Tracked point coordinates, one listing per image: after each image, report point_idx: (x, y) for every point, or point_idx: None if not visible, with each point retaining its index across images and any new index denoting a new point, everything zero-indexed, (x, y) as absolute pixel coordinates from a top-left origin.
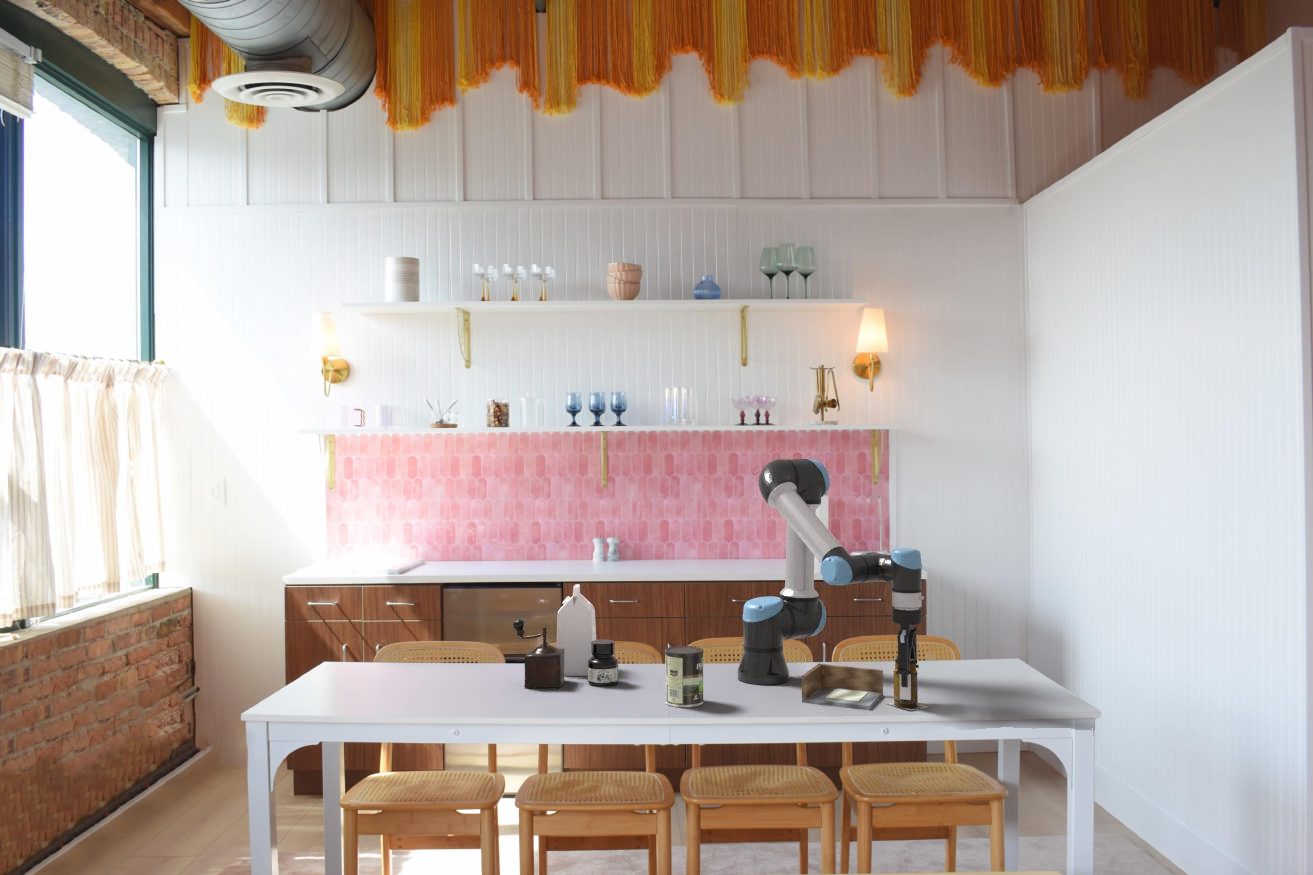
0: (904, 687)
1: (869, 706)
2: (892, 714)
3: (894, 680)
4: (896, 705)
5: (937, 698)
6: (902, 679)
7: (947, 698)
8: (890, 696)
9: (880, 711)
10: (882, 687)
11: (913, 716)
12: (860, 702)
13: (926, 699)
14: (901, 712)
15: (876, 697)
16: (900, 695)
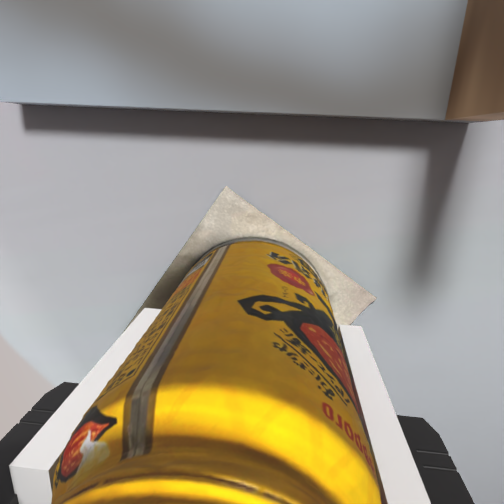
0: None
1: (9, 102)
2: (12, 259)
3: (167, 323)
4: (199, 259)
5: (480, 454)
6: (5, 449)
7: (494, 498)
8: (459, 181)
9: (34, 181)
10: (482, 117)
11: (38, 363)
12: (62, 5)
13: (437, 403)
14: (80, 300)
15: (274, 102)
16: (135, 324)
